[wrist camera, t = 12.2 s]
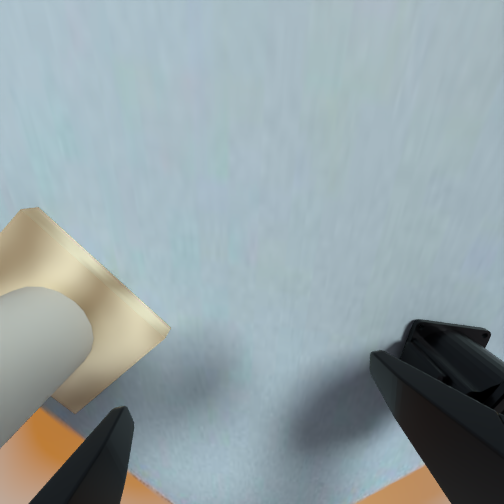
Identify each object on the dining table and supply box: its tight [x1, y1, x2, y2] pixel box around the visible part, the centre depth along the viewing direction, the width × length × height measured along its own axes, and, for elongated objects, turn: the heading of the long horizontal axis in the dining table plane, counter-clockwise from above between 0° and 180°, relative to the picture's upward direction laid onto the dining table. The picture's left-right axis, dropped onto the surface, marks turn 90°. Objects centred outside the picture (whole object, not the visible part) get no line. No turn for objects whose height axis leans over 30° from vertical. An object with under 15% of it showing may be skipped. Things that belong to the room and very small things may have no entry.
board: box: [0, 207, 171, 414], centre depth 21 cm, size 14×12×2 cm
